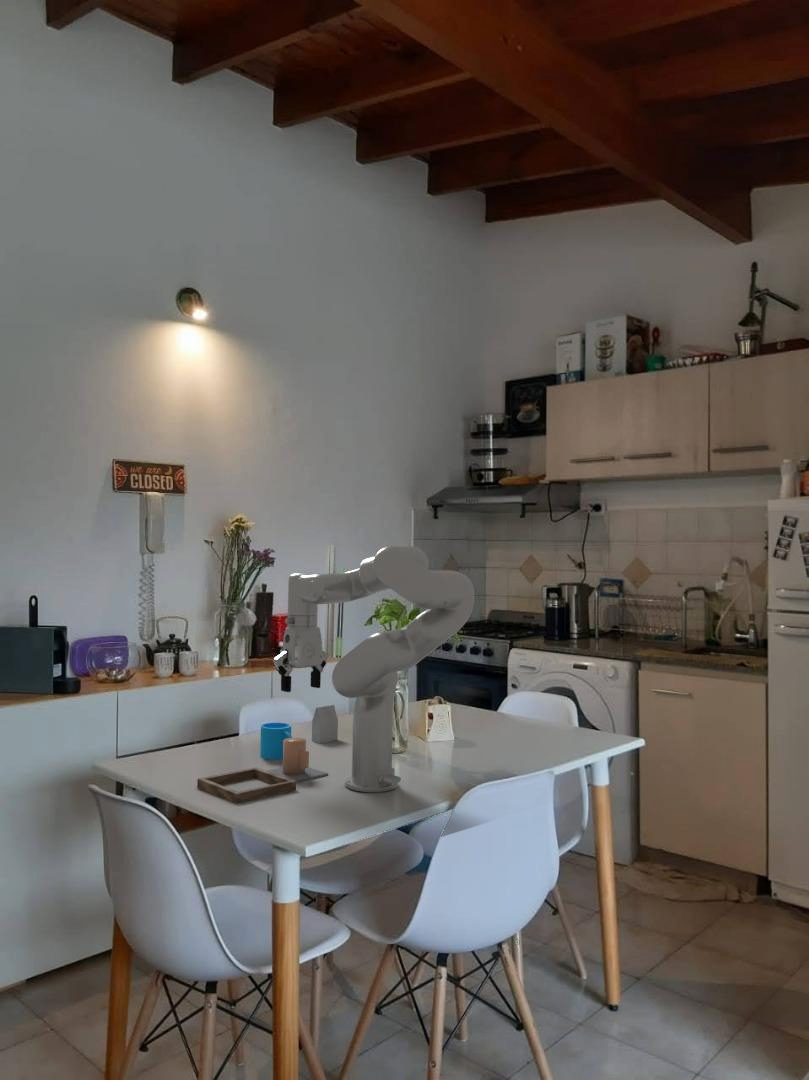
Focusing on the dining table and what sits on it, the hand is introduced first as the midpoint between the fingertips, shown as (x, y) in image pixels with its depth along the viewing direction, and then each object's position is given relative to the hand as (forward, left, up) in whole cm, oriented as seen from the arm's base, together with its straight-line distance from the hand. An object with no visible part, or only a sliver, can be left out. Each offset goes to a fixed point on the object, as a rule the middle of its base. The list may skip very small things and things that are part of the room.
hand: (300, 689), depth 226 cm
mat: (-2, +3, -21) cm, 21 cm away
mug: (+15, -5, -21) cm, 26 cm away
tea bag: (+23, -27, -21) cm, 40 cm away
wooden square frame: (-5, +19, -21) cm, 29 cm away
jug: (-4, +3, -20) cm, 21 cm away
